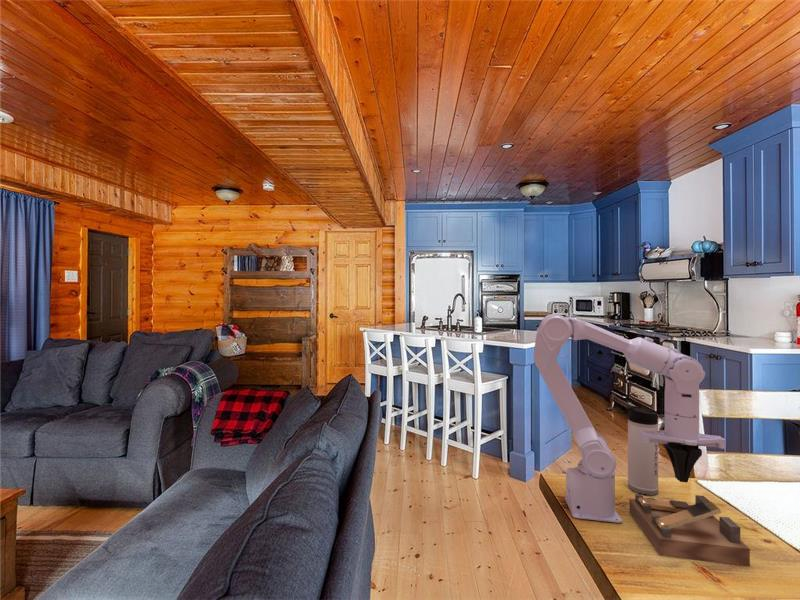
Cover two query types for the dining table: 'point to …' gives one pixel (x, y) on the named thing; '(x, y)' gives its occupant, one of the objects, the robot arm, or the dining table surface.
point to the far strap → (664, 504)
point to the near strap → (688, 515)
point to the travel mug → (642, 451)
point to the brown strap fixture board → (692, 535)
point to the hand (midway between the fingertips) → (681, 480)
